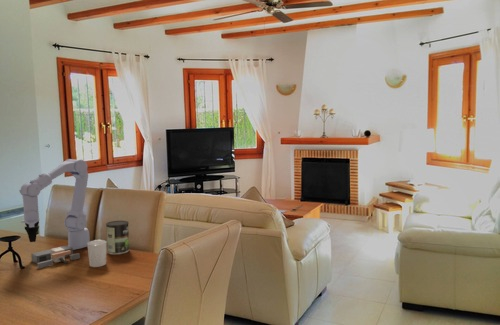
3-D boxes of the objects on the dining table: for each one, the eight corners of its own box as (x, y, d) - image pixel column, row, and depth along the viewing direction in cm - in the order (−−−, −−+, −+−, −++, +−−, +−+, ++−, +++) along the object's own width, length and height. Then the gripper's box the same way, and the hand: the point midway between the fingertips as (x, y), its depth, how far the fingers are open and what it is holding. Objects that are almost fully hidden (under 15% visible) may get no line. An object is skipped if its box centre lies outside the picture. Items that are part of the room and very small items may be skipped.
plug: (61, 257, 183) (60, 246, 183) (72, 263, 176) (71, 251, 176) (50, 260, 180) (50, 249, 179) (61, 265, 173) (61, 254, 172)
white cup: (110, 261, 178) (109, 240, 177) (102, 268, 171) (101, 245, 170) (93, 261, 179) (92, 239, 178) (84, 267, 171) (83, 244, 170)
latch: (69, 253, 181) (69, 250, 181) (70, 253, 180) (70, 250, 180) (51, 257, 175) (51, 254, 175) (52, 258, 174) (52, 255, 174)
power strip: (67, 252, 192) (66, 245, 191) (79, 258, 183) (79, 250, 183) (26, 262, 178) (26, 254, 178) (38, 268, 170) (38, 260, 169)
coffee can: (132, 248, 198) (131, 220, 197) (125, 254, 188) (124, 225, 187) (111, 248, 199) (110, 220, 197) (103, 254, 188) (102, 225, 187)
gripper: (21, 207, 183) (23, 236, 184) (20, 214, 170) (22, 245, 172) (38, 206, 186) (40, 234, 188) (38, 212, 174) (40, 242, 175)
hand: (32, 239), depth 180 cm, fingers open, 7 cm apart
